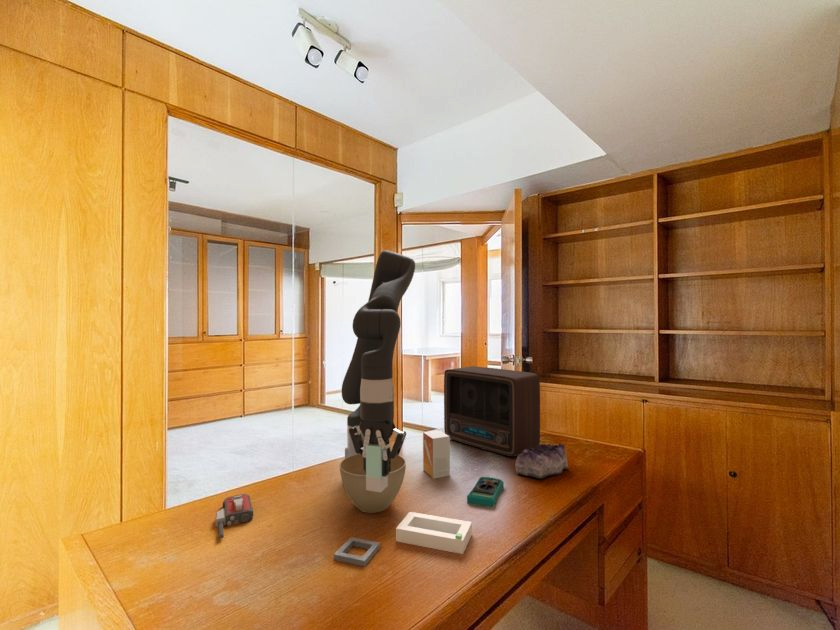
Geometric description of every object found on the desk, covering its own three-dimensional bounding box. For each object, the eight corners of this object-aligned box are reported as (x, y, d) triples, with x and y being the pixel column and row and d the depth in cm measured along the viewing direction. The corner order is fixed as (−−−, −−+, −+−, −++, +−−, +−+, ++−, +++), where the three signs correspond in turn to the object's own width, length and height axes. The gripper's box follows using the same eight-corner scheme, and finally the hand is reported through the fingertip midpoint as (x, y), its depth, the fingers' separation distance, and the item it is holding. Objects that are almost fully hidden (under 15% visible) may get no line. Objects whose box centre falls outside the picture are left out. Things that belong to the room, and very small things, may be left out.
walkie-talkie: (215, 508, 116) (216, 544, 98) (215, 492, 116) (216, 525, 98) (249, 502, 120) (256, 535, 102) (249, 486, 120) (256, 516, 102)
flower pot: (333, 499, 121) (333, 456, 121) (393, 488, 128) (392, 448, 128) (348, 528, 104) (348, 479, 104) (416, 514, 111) (415, 468, 111)
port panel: (396, 541, 98) (395, 525, 98) (409, 523, 106) (409, 509, 106) (462, 554, 93) (462, 537, 93) (471, 534, 101) (471, 519, 101)
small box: (422, 470, 143) (422, 431, 143) (439, 467, 145) (439, 429, 145) (432, 478, 135) (432, 438, 135) (450, 475, 138) (450, 436, 138)
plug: (366, 489, 94) (366, 445, 94) (373, 483, 97) (373, 440, 97) (380, 492, 92) (380, 446, 92) (387, 486, 96) (387, 442, 96)
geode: (547, 460, 152) (551, 433, 151) (574, 474, 143) (578, 446, 142) (507, 470, 141) (511, 441, 140) (534, 486, 131) (538, 455, 130)
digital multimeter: (504, 488, 129) (504, 478, 129) (493, 509, 115) (493, 498, 115) (480, 484, 132) (479, 474, 132) (466, 505, 118) (466, 494, 118)
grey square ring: (334, 559, 91) (334, 554, 91) (351, 542, 98) (351, 537, 98) (364, 566, 88) (364, 560, 88) (379, 548, 95) (379, 542, 95)
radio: (441, 440, 177) (440, 368, 177) (468, 432, 189) (468, 365, 189) (513, 462, 150) (513, 378, 150) (540, 451, 162) (540, 373, 162)
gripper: (340, 398, 94) (341, 475, 94) (398, 403, 89) (399, 485, 89) (357, 392, 101) (358, 464, 101) (412, 397, 96) (412, 472, 96)
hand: (377, 473), depth 95 cm, fingers closed on plug, 3 cm apart
